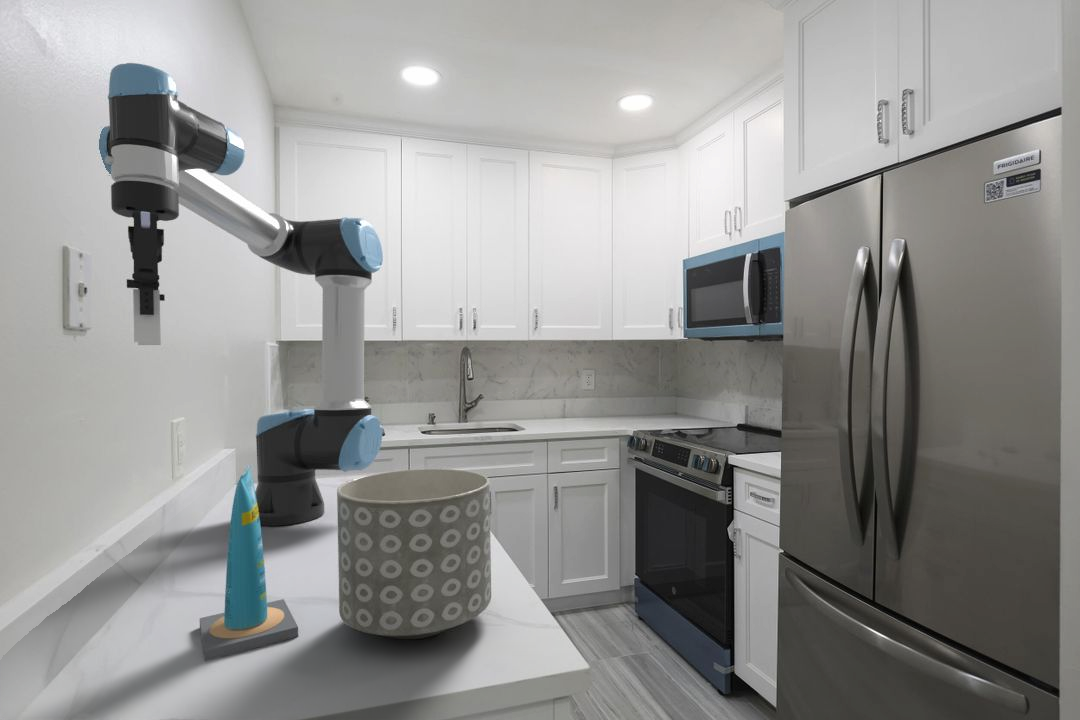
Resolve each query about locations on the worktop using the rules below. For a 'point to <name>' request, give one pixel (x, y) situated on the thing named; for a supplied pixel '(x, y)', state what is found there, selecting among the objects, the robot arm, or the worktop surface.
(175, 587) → the worktop surface
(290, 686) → the worktop surface
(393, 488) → the planter
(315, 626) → the worktop surface
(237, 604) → the tube
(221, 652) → the coaster
